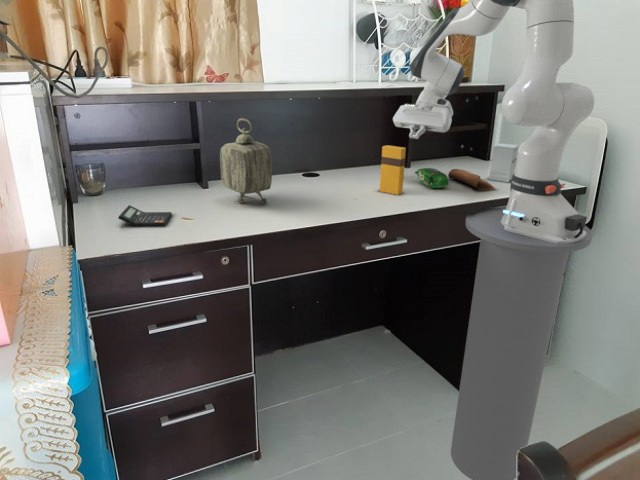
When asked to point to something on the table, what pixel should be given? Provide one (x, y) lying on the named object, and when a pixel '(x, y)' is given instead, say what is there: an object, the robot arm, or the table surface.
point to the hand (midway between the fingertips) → (413, 137)
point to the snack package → (432, 177)
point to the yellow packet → (392, 169)
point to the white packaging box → (503, 162)
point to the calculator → (144, 217)
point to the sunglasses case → (470, 179)
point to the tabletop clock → (246, 165)
